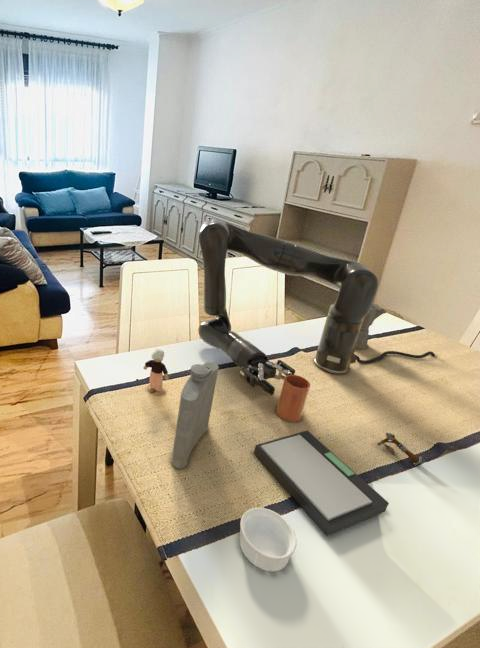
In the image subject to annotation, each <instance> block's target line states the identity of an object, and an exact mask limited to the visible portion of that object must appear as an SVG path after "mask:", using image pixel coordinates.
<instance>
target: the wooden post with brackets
mask: <svg viewBox="0 0 480 648" xmlns="http://www.w3.org/2000/svg"><path fill="white" fill-rule="evenodd" d="M384 434H385V435H386V437H385V438H383V439H381V440H379V441H378V442H377V443H376V445H377V446H384V447H385V450H386V451H388V452H389V453H390V454H393V455H394V454H395V453H396V452H395V448H392V446H391V445H390V444H394V445H395V446H396V447H397V448H398V450H400V452H402V453H404V454H405V455H406V456H407V457H408V458H409V459H410V460H411V461H412V462H413V465H414V467H416V466H418V465H419V464H421V463H422V461H423V457H422V456H418V455H416V454H415V453H413V452H411V451H410V450H409V449H408V448H407V447H406V446H405V445H404V444H403V443H402V442H400V441H399V440H398V439H397V438H396V435H395V434H392V433H391V432H388V431H386V432H385V433H384ZM387 443H388V444H389V443H390V444H389V445H388V444H387Z"/></svg>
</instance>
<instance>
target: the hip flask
mask: <svg viewBox="0 0 480 648" xmlns="http://www.w3.org/2000/svg"><path fill="white" fill-rule="evenodd" d="M219 368H220V367H219V365H218V364H217V363H215V362H212V361H208V362H205V363H203V364H192V365H191V366H190V370H189V371H190V376H189V378H188V379H187V380H186V382H185V383H184V386H183V387H182V390H181V393H180V399H179V405H178V412H177V419H176V425H175V432H174V433H175V434H174V441H173V448H172V453H171V461H170V462H171V464H172V466H173V467H174V468H175V469H178V470H179V469H184V468H185V467H187V464H188V461H189V458H190V455H191V453H192V451H193V449H194V447H195V446H196V444H197V442H198V441H199V440H200V438H201V437H202V436H204V435H205V433H206V432H208V429H209V422H210V417H211V412H212V405H213V401H214V397H215V391H216V390H215V389H216V384H217V379H218V373H219Z"/></svg>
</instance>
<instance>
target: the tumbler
mask: <svg viewBox="0 0 480 648" xmlns="http://www.w3.org/2000/svg"><path fill="white" fill-rule="evenodd" d="M310 388H311V383H310V381H309V380H308V379H306V378H305V377H303V376H301V375H297V374H294V375H287V376H286V375H285V379H284V380H283V383H282V387H281V391H280V395H279V398H278V402H277V406H276V415H278V416H279V417H280V418H281V419H283V420H285V421H287V422H293V423H296V422H299V421H300V420H301V418H302V415H303V413H304V409H305V405H306V402H307V398H308V395H309V392H310Z"/></svg>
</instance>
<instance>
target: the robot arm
mask: <svg viewBox="0 0 480 648" xmlns="http://www.w3.org/2000/svg"><path fill="white" fill-rule="evenodd" d="M197 238H198V243H199V247H200V251H201V256H202V257H201V258H202V264H203V287H202V288H203V293H202V294H203V295H202V298H203V301H202V302H203V303H202V304H203V312H204V313H205V314H206V315H208V316H211V317H215V318H213V319H212V318H211V319H209V320H204V321H202V322H201V323H200V324H199V325H198V328H197V332H198V335H199V338H200V339H201V340H202V341H203V342H204V343H205V344H207V345H209V346H211V347H212V348H216V349H218V350H220V351H222V352H223V353H224V354H226V356H228V357H229V358H230V360H231V361H232V362H233V363H234V364H235V365H237V366H238V367H239V368H240V371H239V376H240V377H241V378H242V379H243V380H244V381H245V383H246V384H248V385H249V386H250V387H251V388H255V386H256V387H257V388H261V389H262V390H263V391H264V392H265V393H267V394H268V395H270V396H272V395H275V391H276V388H275V386H273V384H271V383H270V382H269V381H267V380H269V379H275V380H278V381H280V380H283V381H284V379H285V377H286V376H287V375H296V369H295V368H293V367H291V366H290V365H289V364H287V363H286V362H285V361H283V360H282V359H277V361H276V362H272V361H270V360H269V359H268V356H267V354H266V353H265V352H264V351H262V350H261V349H259V348H258V347H257V346H255V345H254V344H253V343H252V342H250V341H249V340H247V339H245V338H243V337H242V336H241V335H240V334H238V333H237V332H236V331H233V330H232V324H231V322H230V318H229V317H230V316H229V314H228V309H227V285H226V284H227V283H226V268H225V267H226V259H227V253H228V251H231V252H234V253H237V254H239V255H243V256H244V257H246V258H247V259H249V260H251V261H254V262H255V263H256V264H258V265H260V266H262V267H264V268H266V269H269V270H271V271H275V272H278V273H281V274H283V275H287V276H293V277H306V278H307V277H309V278H314V279H318V280H321V281H324V282H327V283H329V284H331V285H334V286H336V287H337V288H339V290H338V293H337V297H336V299H335V300H336V302H333V303H331V304H330V305H329V309H328V312H327V314H326V319H325V322H324V326H323V329H322V333H321V336H320V339H319V343H318V346H317V350H316V354H315V357H314V359H313V363H314V365H315V366H316V367H318V368H319V369H321V370H323V371H324V372H327V373H330V374H335V375H342V374H345V373H347V372H348V369H350V367H351V364H355V363H356V362H358V363H360V364H371V363H374V362H377V361H380V360H382V359H384V357H385V356H387V355H397V356H403V357H407V358H411V359H424V358H426V357H428V356H429V355H430V356H432V357H435V353H434V352H433V351H431V350H430V351H427V352H425V353H423V354H411V353H406V352H401V351H397V350H396V351H395V350H387V351H384V352H382V353H381V354H380V355H379V356H376V357H373V358H370V359H365V360H363V359H361V358H360V356H359V355H357V354H355V351H356V350H357V349H356V346H357V338H358V335H359V332H360V329H361V326H362V323H363V320H364V317H365V316H366V315H367V314H368V313H369V311H370V308H371V306H372V303H374V300H375V298H376V295H377V292H378V289H379V279H378V276H377V275H376V274H375V273H374V272H373V271H372V270H371V269H370V268H369V267H368V266H367V265H365V264H363V263H361V262H358V261H353V260H349V259H344V258H343V259H342V258H338V257H334V256H329V255H326V254H323V253H320V252H318V251H316V250H313V249H311V248H309V247H305V246H302V245H300V244H297V243H294V242H290V241H288V240H284V239H281V238H277V237H272V236H269V235H266V234H262V233H258V232H253V231H249V230H246V229H243V228H241V227H238V226H236V225H234V224H232V223H230V222H227V221H225V220H223V219H220V218H210V219H207V220H206V221H205V222H203V223H202V225H201V226H200V228H199V231H198V237H197ZM277 371H278V374H277Z"/></svg>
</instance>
